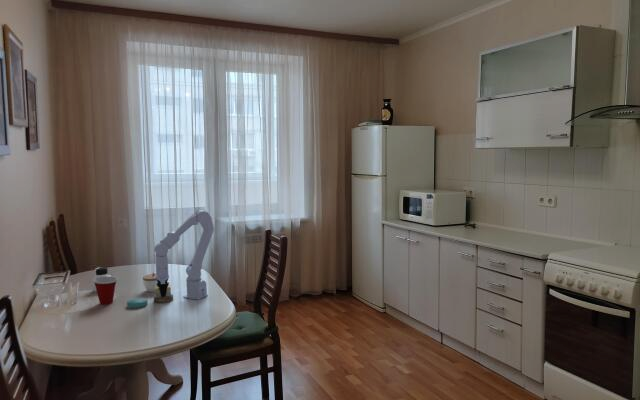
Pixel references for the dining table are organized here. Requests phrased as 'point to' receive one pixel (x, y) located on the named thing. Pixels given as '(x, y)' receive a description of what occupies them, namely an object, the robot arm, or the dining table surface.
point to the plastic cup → (105, 289)
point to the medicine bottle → (100, 275)
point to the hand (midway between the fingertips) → (163, 294)
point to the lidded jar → (150, 282)
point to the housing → (168, 293)
